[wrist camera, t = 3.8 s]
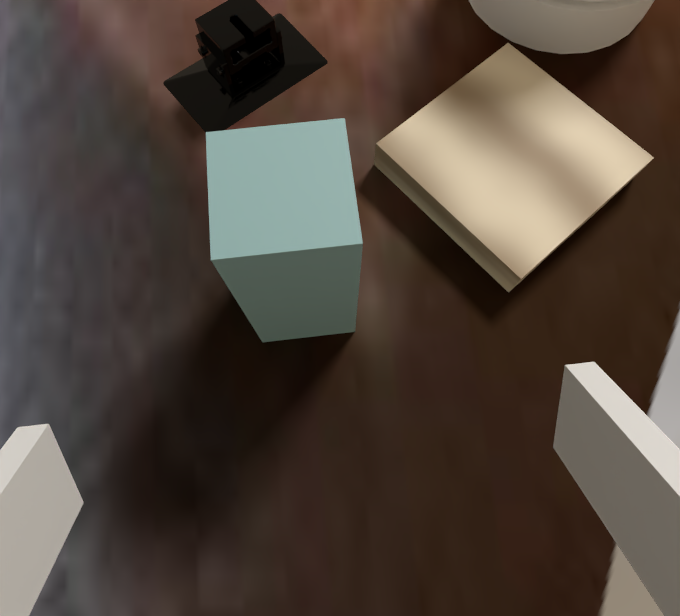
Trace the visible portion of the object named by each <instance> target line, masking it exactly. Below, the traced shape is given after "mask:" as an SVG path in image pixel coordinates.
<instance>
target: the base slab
mask: <svg viewBox="0 0 680 616" xmlns="http://www.w3.org/2000/svg"><path fill="white" fill-rule="evenodd" d="M653 158H654V157H652V156H651V155H650V154H649V153H647V152H646V151H645V150H643V149H642V148H641V147H640V146H638V145H637V144H636V143H635V142H633V141H632V140H631V139H630V138H628V137H627V136H626V135H624V134H623V133H622V132H621V131H619V130H618V129H617V128H616V127H614V126H613V125H612V124H611V123H609V122H608V121H607V120H605V119H604V118H603V117H602V116H600V115H599V114H598V113H597V112H595V111H594V110H593V109H592V108H590V107H589V106H588V105H586V104H585V103H584V102H583V101H581V100H580V99H579V98H578V97H576V96H575V95H574V94H573V93H571V92H570V91H569V90H567V89H566V88H565V87H564V86H562V85H561V84H560V83H559V82H557V81H556V80H555V79H554V78H552V77H551V76H550V75H548V74H547V73H546V72H545V71H543V70H542V69H541V68H540V67H538V66H537V65H536V64H535V63H533V62H532V61H531V60H529V59H528V58H527V57H526V56H524V55H523V54H522V53H521V52H519V51H518V50H517V49H516V48H514V47H513V46H512V45H510V44H509V43H507V44H506V45H505V46H503V47H502V48H501V49H499V50H498V51H497V52H495V53H494V54H493V55H491V56H490V57H489V58H488V59H486V60H485V61H484V62H482V63H481V64H480V65H478V66H477V67H476V68H474V69H473V70H472V71H471V72H469V73H468V74H467V75H465V76H464V77H463V78H461V79H460V80H459V81H457V82H456V83H455V84H454V85H452V86H451V87H450V88H448V89H447V90H446V91H444V92H443V93H442V94H440V95H439V96H438V97H436V98H435V99H434V100H433V101H431V102H430V103H429V104H427V105H426V106H425V107H423V108H422V109H421V110H419V111H418V112H417V113H416V114H414V115H413V116H412V117H410V118H409V119H408V120H406V121H405V122H404V123H402V124H401V125H400V126H399V127H397V128H396V129H395V130H393V131H392V132H391V133H389V134H388V135H387V136H385V137H384V138H383V139H381V140H380V141H379V142H378V143H376V150H375V159H374V165H375V166H376V167H377V168H378V169H379V170H380V171H381V172H382V173H383V174H384V175H386V176H387V177H388V178H389V179H390V180H391V181H392V182H393V183H394V184H395V185H396V186H397V187H398V188H399V189H400V190H401V191H402V192H403V193H404V194H406V195H407V196H408V197H409V198H410V199H411V200H412V201H413V202H414V203H415V204H416V205H417V206H418V207H419V208H420V209H421V210H422V211H423V212H424V213H426V214H427V215H428V216H429V217H430V218H431V219H432V220H433V221H434V222H435V223H436V224H437V225H438V226H439V227H440V228H441V229H442V230H443V231H444V232H445V233H447V234H448V235H449V236H450V237H451V238H452V239H453V240H454V241H455V242H456V243H457V244H458V245H459V246H460V247H461V248H462V249H463V250H464V251H465V252H467V253H468V254H469V255H470V256H471V257H472V258H473V259H474V260H475V261H476V262H477V263H478V264H479V265H480V266H481V267H482V268H483V269H484V270H485V271H487V272H488V273H489V274H490V275H491V276H492V277H493V278H494V279H495V280H496V281H497V282H498V283H499V284H500V285H501V286H502V287H503V288H504V289H505V290H506V291H508V292H510V291H511V290H512V289H513V288H514V287H515V286H516V285H517V284H518V283H520V282H521V281H522V280H523V279H524V278H525V277H526V276H527V275H528V274H529V273H531V272H532V271H533V270H534V269H535V268H536V267H537V266H538V265H539V264H540V263H541V262H543V261H544V260H545V259H546V258H547V257H548V256H549V255H550V254H551V253H552V252H553V251H555V250H556V249H557V248H558V247H559V246H560V245H561V244H562V243H563V242H564V241H565V240H567V239H568V238H569V237H570V236H571V235H572V234H573V233H574V232H575V231H576V230H578V229H579V228H580V227H581V226H582V225H583V224H584V223H585V222H586V221H587V220H588V219H590V218H591V217H592V216H593V215H594V214H595V213H596V212H597V211H598V210H599V209H600V208H602V207H603V206H604V205H605V204H606V203H607V202H608V201H609V200H610V199H611V198H612V197H614V196H615V195H616V194H617V193H618V192H619V191H620V190H621V189H622V188H623V187H625V186H626V185H627V184H628V183H629V182H630V181H631V180H632V179H633V178H634V177H635V176H636V175H637V174H638V173H639V172H640V171H641V170H642V169H643V168H644V167H645V166H646V165H647V164H648V163H649V162H650V161H651V160H652V159H653Z"/></svg>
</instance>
